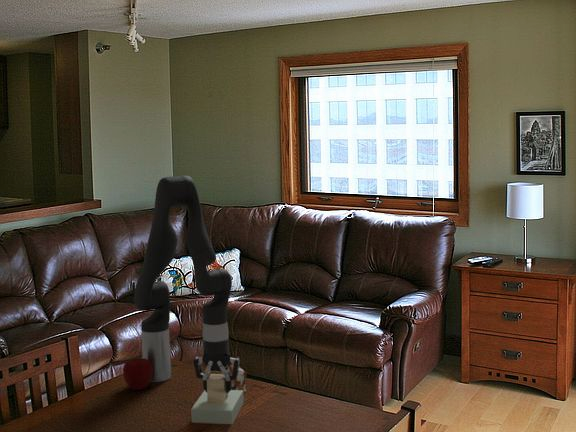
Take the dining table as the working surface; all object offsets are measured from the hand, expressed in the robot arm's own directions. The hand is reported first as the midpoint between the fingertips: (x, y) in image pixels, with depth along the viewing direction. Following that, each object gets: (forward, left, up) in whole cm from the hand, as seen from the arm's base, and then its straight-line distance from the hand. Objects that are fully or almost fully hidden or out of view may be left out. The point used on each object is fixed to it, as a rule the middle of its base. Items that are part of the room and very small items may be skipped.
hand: (217, 391), depth 219 cm
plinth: (0, 0, -7) cm, 7 cm away
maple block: (0, 0, -3) cm, 3 cm away
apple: (-17, -31, -7) cm, 36 cm away
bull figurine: (-19, +2, -7) cm, 20 cm away
